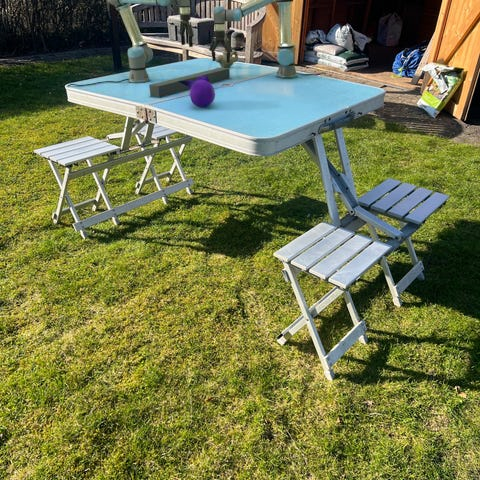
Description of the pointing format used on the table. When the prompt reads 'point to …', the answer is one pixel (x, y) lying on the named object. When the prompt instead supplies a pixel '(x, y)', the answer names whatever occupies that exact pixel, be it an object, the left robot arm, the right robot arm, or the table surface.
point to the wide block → (176, 87)
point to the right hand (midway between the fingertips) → (221, 61)
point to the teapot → (223, 59)
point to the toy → (201, 91)
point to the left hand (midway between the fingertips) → (187, 45)
